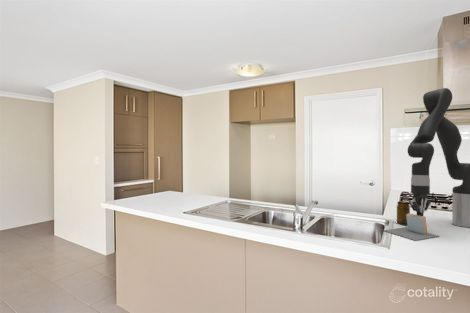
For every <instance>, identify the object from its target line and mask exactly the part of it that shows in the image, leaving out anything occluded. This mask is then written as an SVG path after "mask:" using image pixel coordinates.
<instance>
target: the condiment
mask: <svg viewBox="0 0 470 313" xmlns="http://www.w3.org/2000/svg"><path fill="white" fill-rule="evenodd" d="M410 210H411V206H410V204H409V201H404V200H398V201H397V205H396V221H393V223H394V224H397V223H398V225H402V224H404V225H402V226H405V227H408V226H407V218H406V214H409V213H410V214H411V211H410ZM395 222H397V223H395Z"/></svg>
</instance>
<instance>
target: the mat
mask: <svg viewBox="0 0 470 313" xmlns="http://www.w3.org/2000/svg"><path fill="white" fill-rule="evenodd" d="M382 232H384V233H388V234H391V235H394V236H398V237H401V238H405V239H408V240H410V241H413V242H417V241H422V240H423V241H424V240H430V239H435V237H436V238H440V235H437V234H433V233H429V232H427V234H425V235H424V234H421V233H417V232H413V231H410V230H408V226H405V227H399V228H391V229H384V230H383V231H382ZM429 238H430V239H429Z"/></svg>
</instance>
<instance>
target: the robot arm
mask: <svg viewBox="0 0 470 313" xmlns="http://www.w3.org/2000/svg"><path fill="white" fill-rule="evenodd" d="M422 98H423V99H422V101H423V105H424V108H425V109H426V112H427V113H428V116H427V117H426V118H425V119H424V120H423V121H422V122H421V124H420V126H419V129H418V131H417V134H416V136H415V137H414V138H413V140H412V141H411V142H410V143H409V145H408V147H407V154H408V157H410V158H413V159H414V158H418V159H419V158H421V160H420V161H418V162H413V163H412V165H411V178H410V193H411V194H412V200H409V201H408V202H409V206H410V208H411V209H412V210H413V212H415V213H416V215H419V216H424V213H425V211H426V212H427V211H428V208H429V207H430V205H431V203H432V200H430V199H428V198H429V197H428V195H430V194H431V193H430V192H431V190H430V189H431V178H430V167H431V163H432V159H433V156H434V153H435V147H434V146H433V144H431V142H433V141H434V138H435V137H436V136H437V139H438V142H439V145H440V146H441V150H442V154H443V156H444V159H445V163H446V164H445V165H446V169H447V172H448V175H449V177H450V178H451V179H452V180H455V181H462V183H461V184H459V185H456V186H453V187H452V216H451V217H452V219H451V221H452V223H451V224H452V225H454V226H458V227H464V228H470V163H469V162H468V163H467V162H460V161H459V158H458V151H459V149H460V147H461V144H462V140H463V139H462V136H461V133H460V130H459V127H458V126H457V125H456V124H455V123H453V122H452V121H451V120H449V119H448V118H446V117H445V114H446V113H447V111H448V109H449V107H450V105H451V104H452V101H453V92H452V91H451V89H449V87H448V88H447V87H444V88H443V87H442V88H439V89H435V90H431V91H428V92H425V93H424V94H423V96H422Z"/></svg>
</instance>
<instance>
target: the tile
mask: <svg viewBox="0 0 470 313" xmlns="http://www.w3.org/2000/svg"><path fill="white" fill-rule="evenodd" d="M406 218H407V226H406V227H408V230H410V231H413V232H417V233H421V234H424V235H425V234H427V233H428V225H427V217H426V216H424V215H423V216H419V215H417V214H414V213H411V212H410V213H409V214H406Z"/></svg>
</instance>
